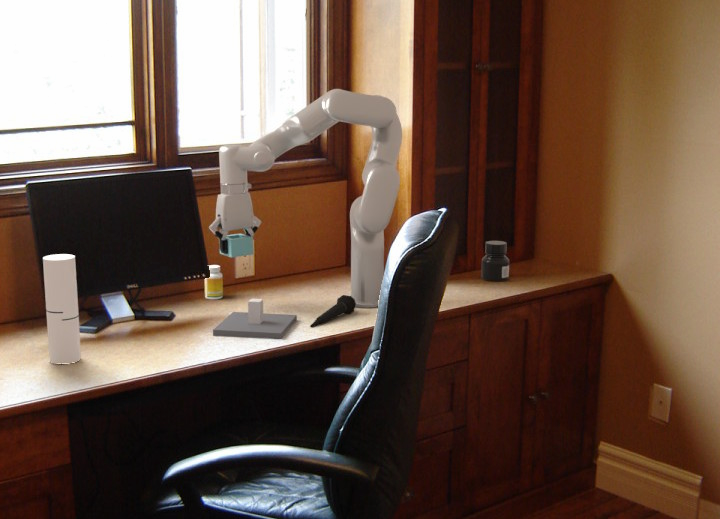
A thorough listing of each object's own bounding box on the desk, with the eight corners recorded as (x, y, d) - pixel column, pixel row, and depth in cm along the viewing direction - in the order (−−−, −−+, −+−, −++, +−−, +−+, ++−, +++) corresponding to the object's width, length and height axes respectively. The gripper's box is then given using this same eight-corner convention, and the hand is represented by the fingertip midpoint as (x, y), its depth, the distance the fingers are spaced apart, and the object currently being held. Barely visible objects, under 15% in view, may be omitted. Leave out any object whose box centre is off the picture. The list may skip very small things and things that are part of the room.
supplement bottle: (201, 297, 288) (200, 265, 286) (217, 294, 292) (216, 263, 290) (210, 300, 284) (210, 269, 282) (226, 298, 288) (225, 266, 286)
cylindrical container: (53, 356, 232) (46, 254, 227) (83, 355, 233) (77, 253, 227) (46, 365, 225) (39, 260, 220) (77, 364, 226) (71, 260, 220)
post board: (296, 320, 264) (296, 293, 262) (280, 338, 247) (280, 310, 245) (233, 317, 267) (232, 290, 265) (213, 335, 249) (212, 307, 248)
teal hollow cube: (241, 250, 278) (240, 233, 277) (253, 254, 273) (252, 237, 272) (219, 253, 274) (219, 236, 273) (231, 257, 269) (230, 240, 268)
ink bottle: (510, 282, 309) (511, 245, 306) (482, 282, 309) (484, 245, 306) (506, 275, 318) (507, 239, 316) (479, 275, 318) (480, 239, 316)
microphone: (317, 339, 257) (357, 314, 273) (321, 321, 255) (361, 296, 271) (301, 330, 259) (341, 306, 275) (304, 312, 257) (345, 288, 273)
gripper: (254, 185, 278) (256, 245, 281) (199, 190, 268) (202, 253, 271) (267, 187, 272) (269, 249, 275) (212, 193, 262) (215, 257, 265)
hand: (236, 251), depth 273 cm, fingers closed on teal hollow cube, 7 cm apart
